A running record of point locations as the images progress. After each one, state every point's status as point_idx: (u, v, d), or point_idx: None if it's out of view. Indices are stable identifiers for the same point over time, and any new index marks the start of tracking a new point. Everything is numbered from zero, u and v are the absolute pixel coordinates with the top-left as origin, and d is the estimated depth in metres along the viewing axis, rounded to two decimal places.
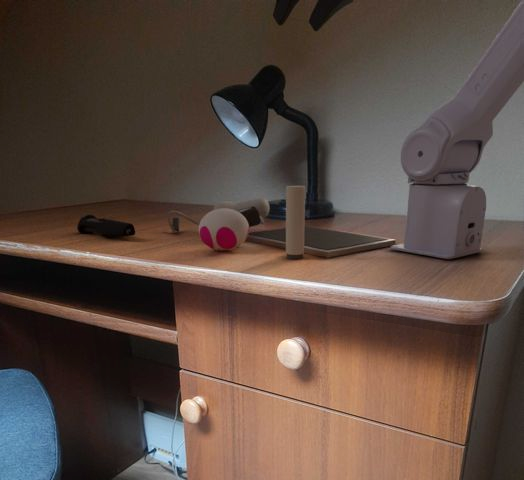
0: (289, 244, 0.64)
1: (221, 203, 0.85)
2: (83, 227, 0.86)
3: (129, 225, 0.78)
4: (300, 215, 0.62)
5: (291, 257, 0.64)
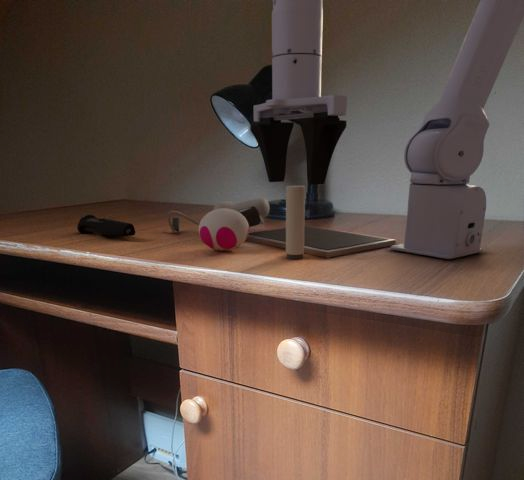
0: (289, 244, 0.64)
1: (221, 203, 0.85)
2: (83, 227, 0.86)
3: (129, 225, 0.78)
4: (300, 215, 0.62)
5: (291, 257, 0.64)
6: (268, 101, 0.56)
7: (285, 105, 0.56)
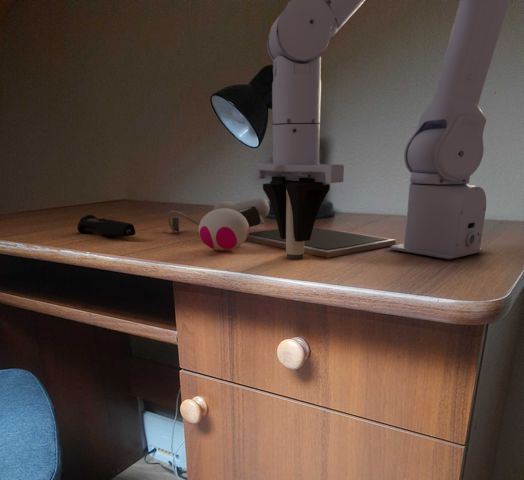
0: (289, 244, 0.64)
1: (221, 203, 0.85)
2: (83, 227, 0.86)
3: (129, 225, 0.78)
4: None
5: (291, 257, 0.64)
6: (269, 166, 0.59)
7: (285, 170, 0.59)
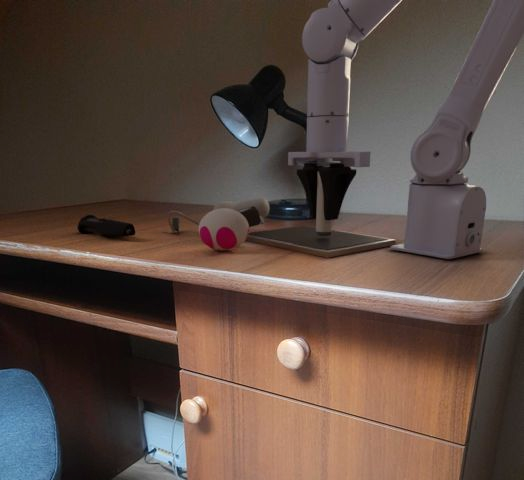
0: (319, 222, 0.72)
1: (221, 203, 0.85)
2: (83, 227, 0.86)
3: (129, 225, 0.78)
4: None
5: (321, 234, 0.73)
6: (304, 153, 0.68)
7: (318, 157, 0.67)
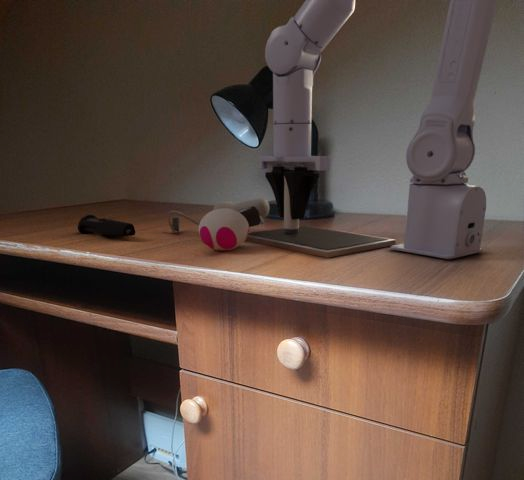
0: (287, 220, 0.78)
1: (221, 203, 0.85)
2: (83, 227, 0.86)
3: (129, 225, 0.78)
4: None
5: (288, 231, 0.79)
6: (270, 157, 0.73)
7: (283, 161, 0.73)
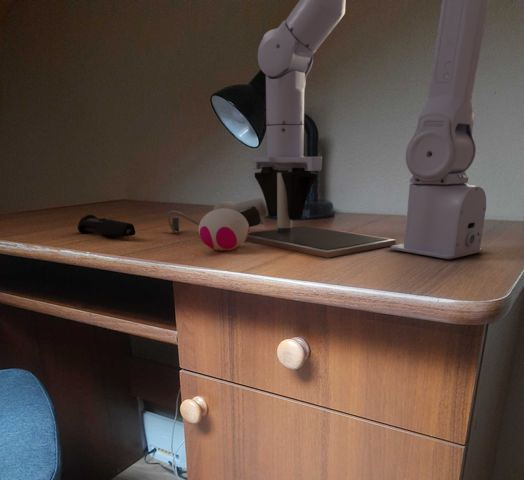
0: (280, 219, 0.79)
1: (221, 203, 0.85)
2: (83, 227, 0.86)
3: (129, 225, 0.78)
4: None
5: (281, 230, 0.80)
6: (263, 158, 0.75)
7: (276, 161, 0.74)
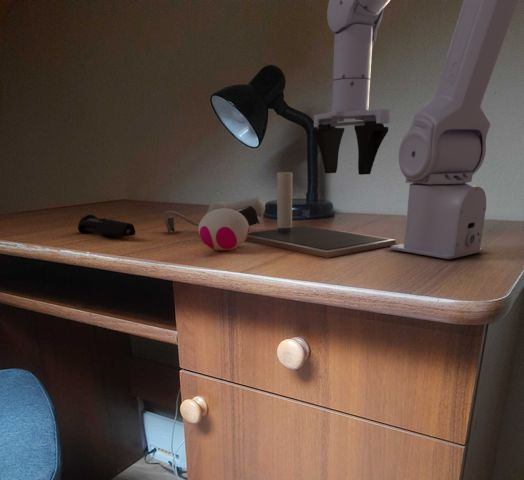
0: (280, 219, 0.79)
1: (217, 203, 0.85)
2: (83, 227, 0.86)
3: (129, 225, 0.78)
4: (288, 196, 0.78)
5: (281, 230, 0.80)
6: (330, 112, 0.76)
7: (343, 115, 0.76)
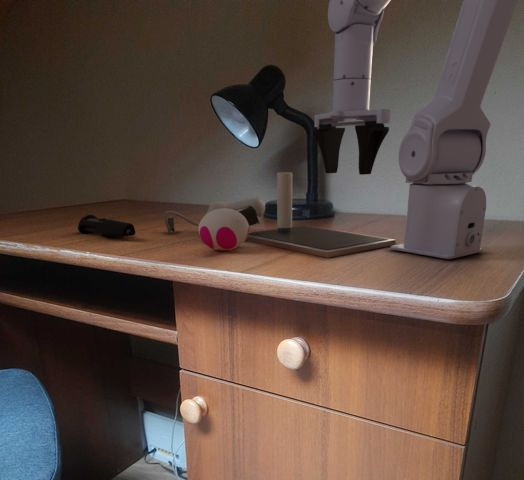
0: (280, 219, 0.79)
1: (217, 203, 0.85)
2: (84, 227, 0.87)
3: (129, 225, 0.78)
4: (288, 196, 0.78)
5: (281, 230, 0.80)
6: (331, 112, 0.76)
7: (344, 115, 0.76)
